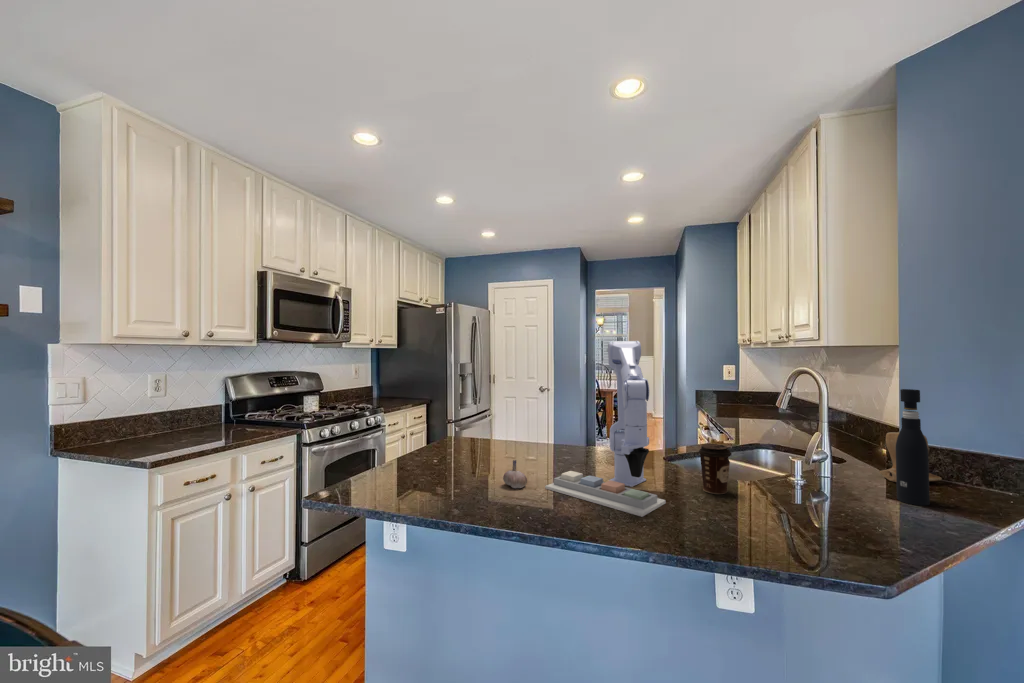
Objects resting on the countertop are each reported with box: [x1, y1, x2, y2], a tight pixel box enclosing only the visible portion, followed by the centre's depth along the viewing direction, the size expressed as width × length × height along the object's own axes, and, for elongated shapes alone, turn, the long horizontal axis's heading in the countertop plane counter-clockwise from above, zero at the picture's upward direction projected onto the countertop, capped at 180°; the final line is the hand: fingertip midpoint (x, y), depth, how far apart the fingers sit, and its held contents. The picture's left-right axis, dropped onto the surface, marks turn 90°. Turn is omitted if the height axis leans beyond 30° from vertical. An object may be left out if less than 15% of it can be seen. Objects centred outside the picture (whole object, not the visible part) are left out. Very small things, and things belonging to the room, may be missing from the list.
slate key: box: [580, 475, 604, 488], centre depth 122 cm, size 5×5×2 cm
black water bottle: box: [895, 388, 931, 507], centre depth 114 cm, size 6×6×30 cm
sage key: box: [624, 488, 650, 500], centre depth 112 cm, size 5×5×2 cm
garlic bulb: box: [502, 459, 528, 489], centre depth 128 cm, size 8×7×8 cm
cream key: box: [560, 470, 584, 483], centre depth 127 cm, size 5×5×2 cm
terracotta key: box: [601, 479, 626, 494], centre depth 117 cm, size 5×5×2 cm
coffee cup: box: [698, 443, 732, 495], centre depth 123 cm, size 9×8×13 cm
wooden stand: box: [879, 431, 943, 483], centre depth 133 cm, size 15×12×15 cm
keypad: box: [544, 475, 667, 518], centre depth 120 cm, size 13×31×3 cm, turn 45°
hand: (636, 476), depth 112 cm, fingers closed
